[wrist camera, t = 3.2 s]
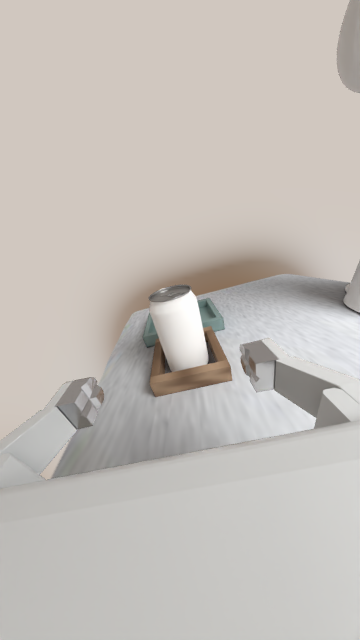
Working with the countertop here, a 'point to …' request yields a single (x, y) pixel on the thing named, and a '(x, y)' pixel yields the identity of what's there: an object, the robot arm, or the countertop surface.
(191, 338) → the can
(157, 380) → the collar
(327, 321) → the countertop surface
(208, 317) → the tray
